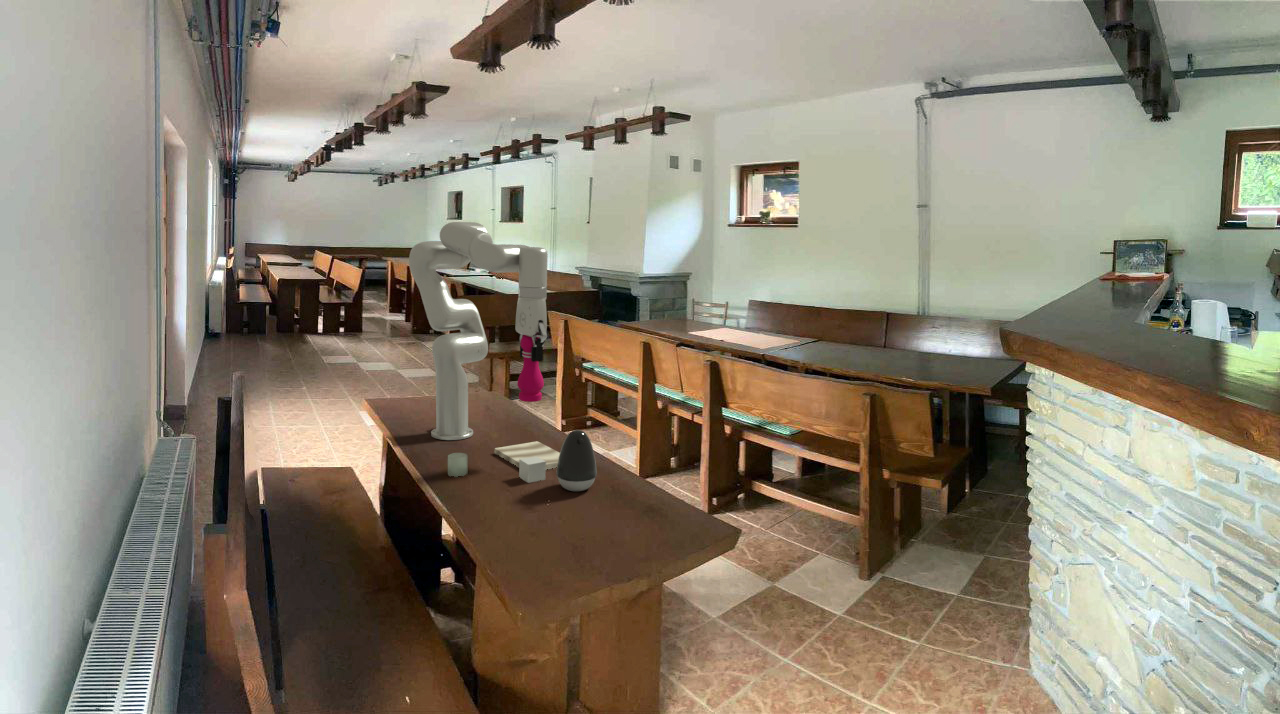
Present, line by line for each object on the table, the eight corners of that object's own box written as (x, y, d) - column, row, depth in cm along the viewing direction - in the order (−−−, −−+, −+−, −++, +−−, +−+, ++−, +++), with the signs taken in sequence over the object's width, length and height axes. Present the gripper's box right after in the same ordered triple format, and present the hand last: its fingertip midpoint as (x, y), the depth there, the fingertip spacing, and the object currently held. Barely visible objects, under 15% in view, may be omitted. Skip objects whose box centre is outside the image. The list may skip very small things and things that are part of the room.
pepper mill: (537, 403, 200) (539, 330, 197) (513, 400, 202) (514, 328, 198) (547, 397, 207) (548, 327, 204) (522, 395, 209) (524, 325, 205)
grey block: (519, 477, 194) (519, 459, 193) (536, 474, 197) (536, 456, 196) (528, 483, 190) (528, 464, 189) (545, 479, 193) (545, 461, 192)
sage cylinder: (444, 472, 195) (444, 454, 194) (462, 469, 198) (462, 451, 197) (452, 478, 191) (452, 459, 190) (470, 475, 194) (470, 456, 193)
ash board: (494, 453, 213) (494, 448, 212) (537, 446, 221) (537, 441, 221) (528, 473, 197) (528, 467, 197) (572, 464, 205) (573, 459, 205)
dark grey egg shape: (559, 496, 181) (560, 436, 179) (553, 482, 191) (554, 425, 188) (600, 494, 184) (602, 435, 181) (591, 480, 194) (593, 424, 191)
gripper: (505, 290, 204) (504, 354, 207) (535, 297, 190) (533, 365, 194) (530, 289, 208) (528, 352, 212) (560, 296, 195) (558, 363, 198)
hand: (531, 358), depth 203 cm, fingers closed on pepper mill, 5 cm apart
